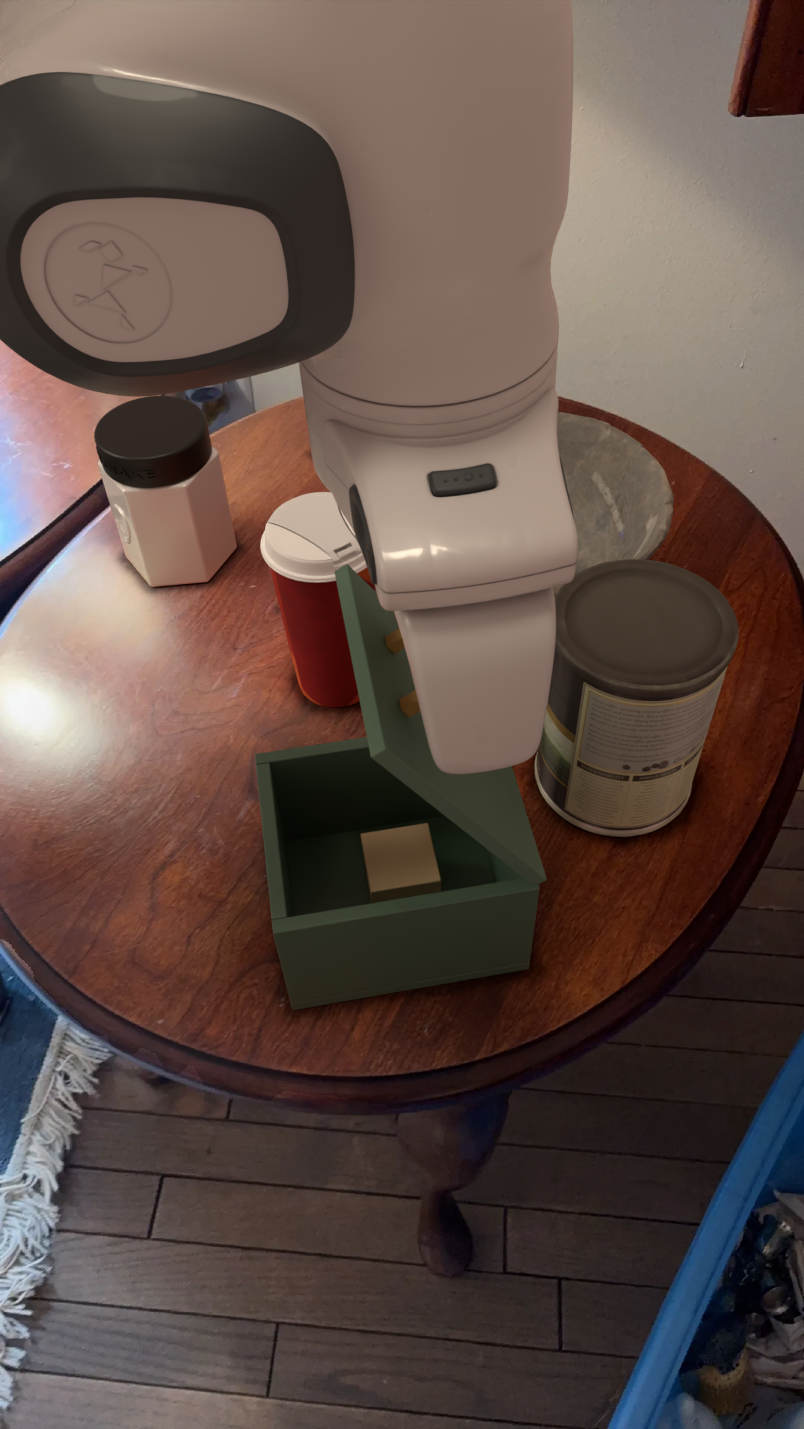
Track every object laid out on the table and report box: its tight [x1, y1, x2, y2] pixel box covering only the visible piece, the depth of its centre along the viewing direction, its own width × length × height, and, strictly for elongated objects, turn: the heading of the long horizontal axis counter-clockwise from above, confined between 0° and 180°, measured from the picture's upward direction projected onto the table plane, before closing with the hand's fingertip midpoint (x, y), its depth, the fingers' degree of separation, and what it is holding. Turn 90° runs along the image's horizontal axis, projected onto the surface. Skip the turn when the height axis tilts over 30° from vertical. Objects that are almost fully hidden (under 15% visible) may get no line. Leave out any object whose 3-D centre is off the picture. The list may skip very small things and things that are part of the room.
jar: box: [93, 395, 238, 588], centre depth 79 cm, size 9×8×12 cm
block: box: [360, 823, 441, 904], centre depth 60 cm, size 4×4×4 cm
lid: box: [335, 564, 548, 886], centre depth 50 cm, size 15×12×5 cm
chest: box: [254, 736, 540, 1011], centre depth 59 cm, size 14×12×9 cm
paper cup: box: [260, 491, 377, 708], centre depth 69 cm, size 8×8×14 cm
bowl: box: [553, 411, 675, 596], centre depth 75 cm, size 21×21×10 cm
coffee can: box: [534, 559, 740, 838], centre depth 63 cm, size 10×10×14 cm
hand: (439, 672), depth 47 cm, fingers closed on lid, 5 cm apart
